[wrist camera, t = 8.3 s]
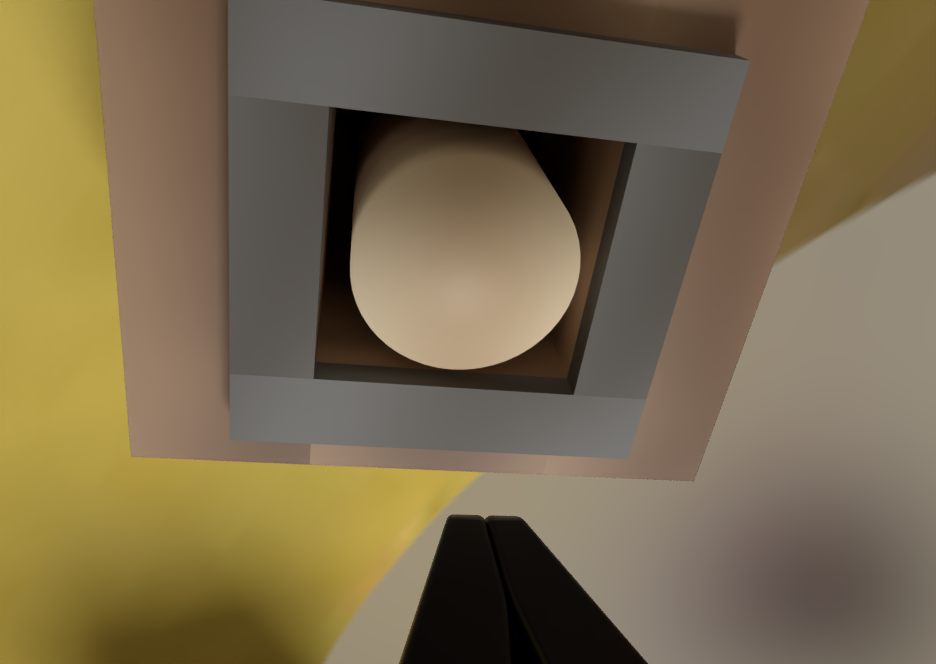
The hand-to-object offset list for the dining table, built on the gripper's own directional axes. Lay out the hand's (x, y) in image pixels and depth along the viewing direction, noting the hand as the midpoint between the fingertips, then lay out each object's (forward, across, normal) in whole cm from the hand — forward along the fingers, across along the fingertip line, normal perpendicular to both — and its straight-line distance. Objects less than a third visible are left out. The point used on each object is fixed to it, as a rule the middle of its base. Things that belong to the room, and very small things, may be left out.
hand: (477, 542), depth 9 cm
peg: (+12, 0, -1) cm, 12 cm away
